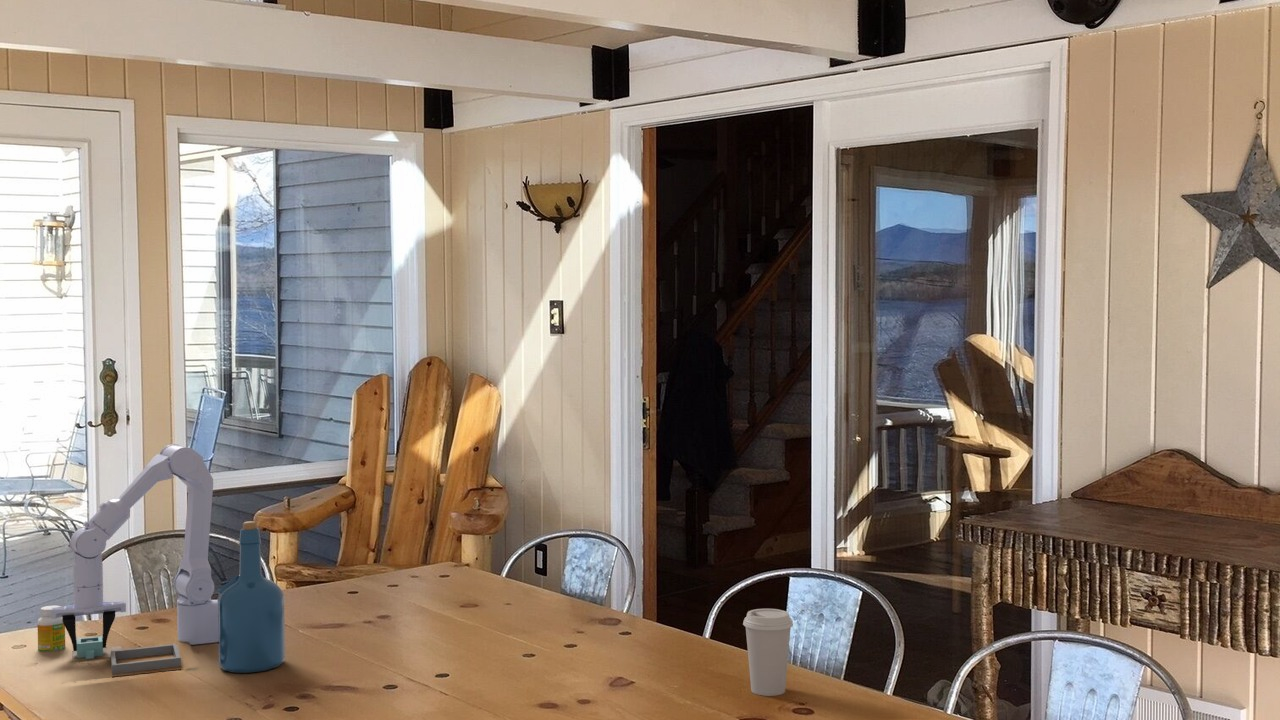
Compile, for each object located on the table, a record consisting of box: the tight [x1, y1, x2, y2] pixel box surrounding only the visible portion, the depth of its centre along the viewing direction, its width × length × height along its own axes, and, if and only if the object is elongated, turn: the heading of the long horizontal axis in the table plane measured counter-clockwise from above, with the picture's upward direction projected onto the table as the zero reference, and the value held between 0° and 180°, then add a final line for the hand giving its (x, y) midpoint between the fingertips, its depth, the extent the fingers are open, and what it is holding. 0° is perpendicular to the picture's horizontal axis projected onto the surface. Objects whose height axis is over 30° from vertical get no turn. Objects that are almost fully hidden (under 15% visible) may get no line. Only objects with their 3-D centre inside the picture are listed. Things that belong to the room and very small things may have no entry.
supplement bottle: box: [36, 605, 66, 653], centre depth 269 cm, size 5×5×10 cm
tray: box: [110, 643, 182, 678], centre depth 258 cm, size 13×12×2 cm
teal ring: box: [76, 635, 103, 660], centre depth 263 cm, size 5×7×3 cm
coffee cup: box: [742, 608, 794, 697], centre depth 238 cm, size 10×10×15 cm
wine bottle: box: [217, 520, 286, 674], centre depth 257 cm, size 14×13×30 cm
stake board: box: [71, 640, 124, 663], centre depth 265 cm, size 10×9×4 cm
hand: (89, 648), depth 264 cm, fingers closed on teal ring, 5 cm apart
